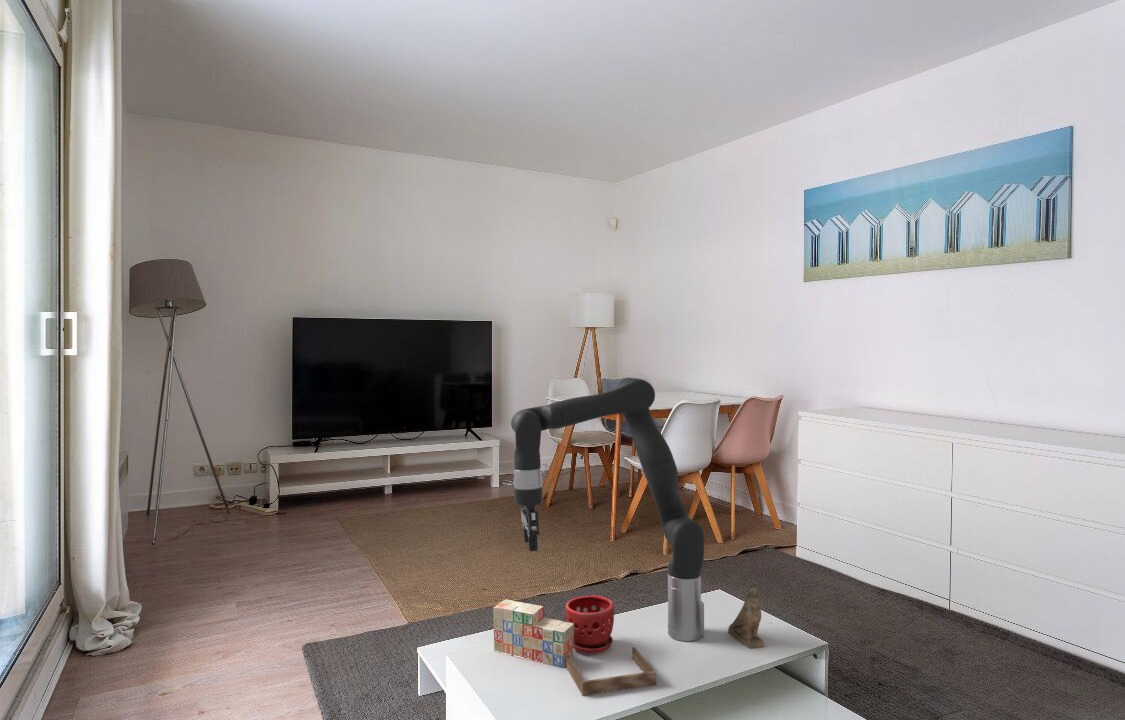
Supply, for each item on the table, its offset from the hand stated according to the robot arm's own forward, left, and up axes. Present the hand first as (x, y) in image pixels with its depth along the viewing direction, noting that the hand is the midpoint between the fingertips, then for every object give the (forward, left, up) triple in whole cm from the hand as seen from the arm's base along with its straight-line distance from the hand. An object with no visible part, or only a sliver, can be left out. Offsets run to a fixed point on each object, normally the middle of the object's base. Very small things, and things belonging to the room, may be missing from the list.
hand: (530, 546), depth 175 cm
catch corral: (-16, +17, -29) cm, 37 cm away
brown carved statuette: (-59, +8, -29) cm, 66 cm away
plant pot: (-16, +1, -29) cm, 33 cm away
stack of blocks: (0, +1, -29) cm, 29 cm away
